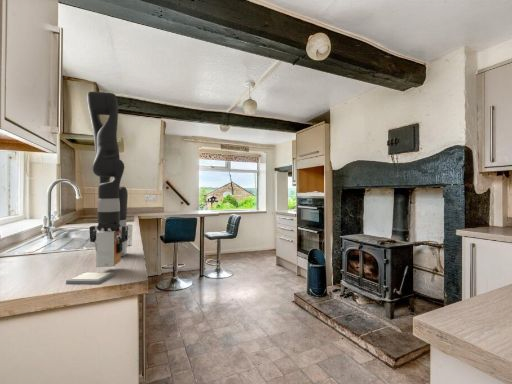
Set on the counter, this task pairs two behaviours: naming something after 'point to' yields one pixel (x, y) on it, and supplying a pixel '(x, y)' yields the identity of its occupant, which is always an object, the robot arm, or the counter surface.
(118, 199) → the robot arm
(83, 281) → the board
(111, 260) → the small box
